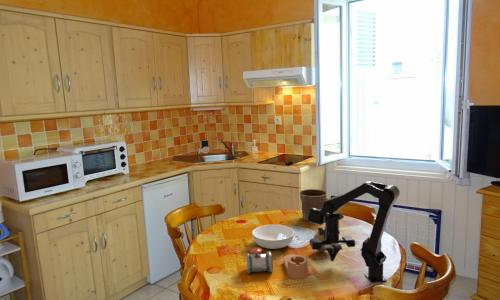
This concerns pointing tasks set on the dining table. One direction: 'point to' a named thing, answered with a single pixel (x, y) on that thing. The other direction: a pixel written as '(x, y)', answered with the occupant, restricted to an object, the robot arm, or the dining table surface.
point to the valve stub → (259, 261)
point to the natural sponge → (320, 240)
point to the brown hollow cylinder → (296, 266)
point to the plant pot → (311, 200)
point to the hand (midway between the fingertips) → (332, 261)
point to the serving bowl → (272, 236)
